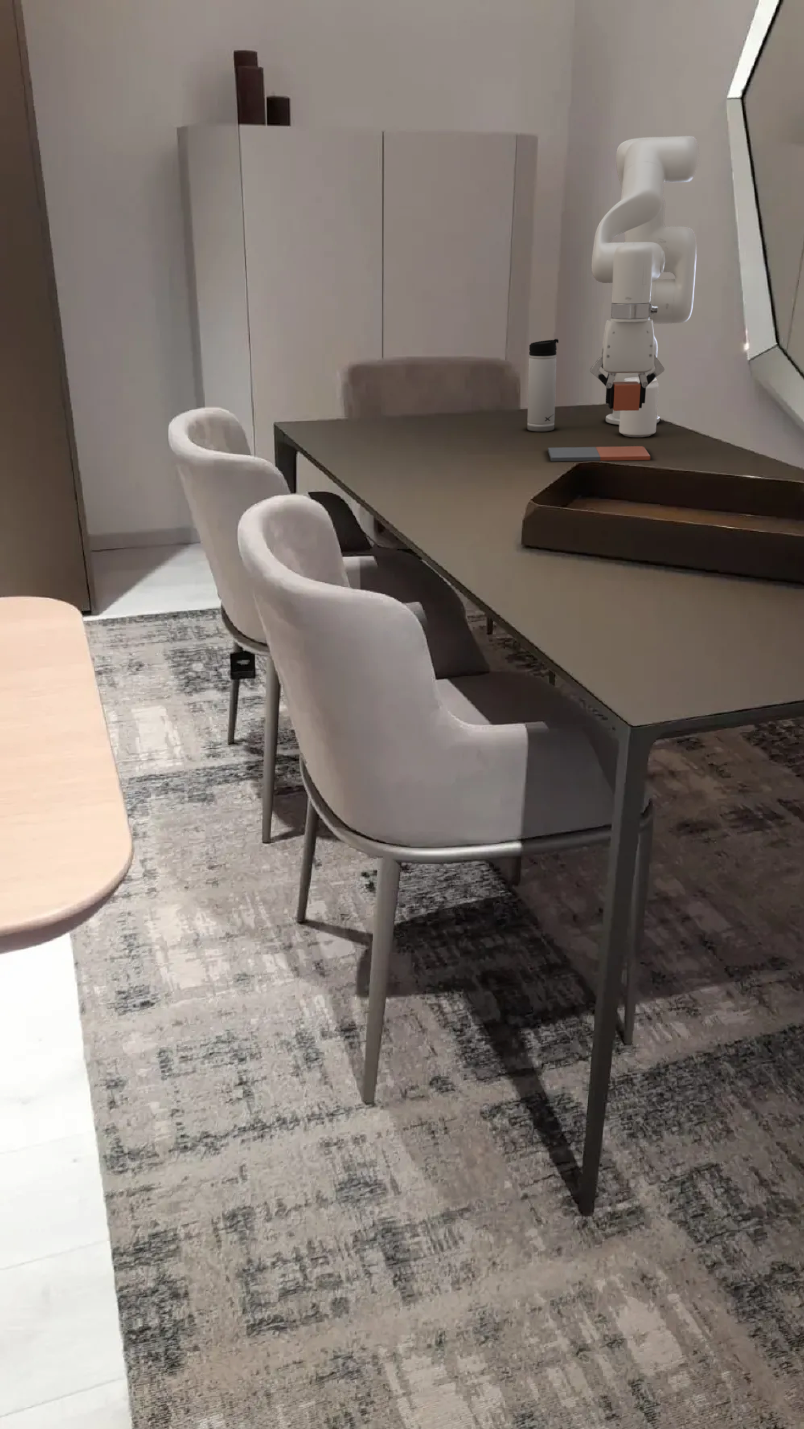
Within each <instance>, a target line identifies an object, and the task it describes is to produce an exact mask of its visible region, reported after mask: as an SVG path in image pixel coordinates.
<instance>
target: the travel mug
mask: <svg viewBox="0 0 804 1429" xmlns="http://www.w3.org/2000/svg"><path fill="white" fill-rule="evenodd" d="M557 344H559V339H558V338H554V339H546V340H539V341H534V342H531V343H530V344H529V346H528V348H529V349H528V351H529V352H528V374H527V375H528V376H527V377H528V378H527V381H528V382H527V425H526V429H527V430H528V431H530V432H535V433H537V432H538V433H542V432H543V433H544V432H546V433H547V432H551V431H554V430H555V417H556V414H555V413H556V388H557V387H556V385H557V384H556V383H557V356H558V355H557Z"/></svg>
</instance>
